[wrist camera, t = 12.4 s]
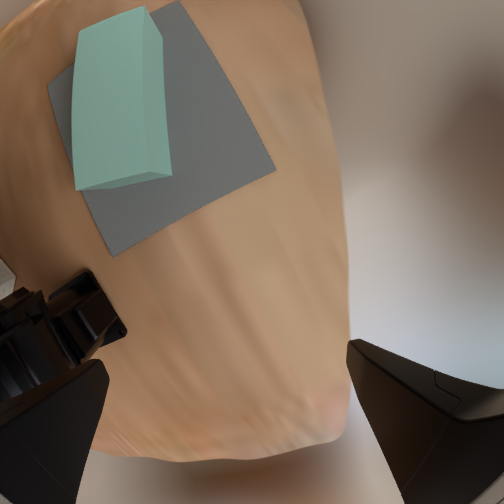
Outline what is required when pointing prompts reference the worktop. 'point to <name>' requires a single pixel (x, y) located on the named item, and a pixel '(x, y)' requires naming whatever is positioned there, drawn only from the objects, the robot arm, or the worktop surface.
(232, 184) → the mat
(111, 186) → the teal block
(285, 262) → the worktop surface
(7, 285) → the small box
